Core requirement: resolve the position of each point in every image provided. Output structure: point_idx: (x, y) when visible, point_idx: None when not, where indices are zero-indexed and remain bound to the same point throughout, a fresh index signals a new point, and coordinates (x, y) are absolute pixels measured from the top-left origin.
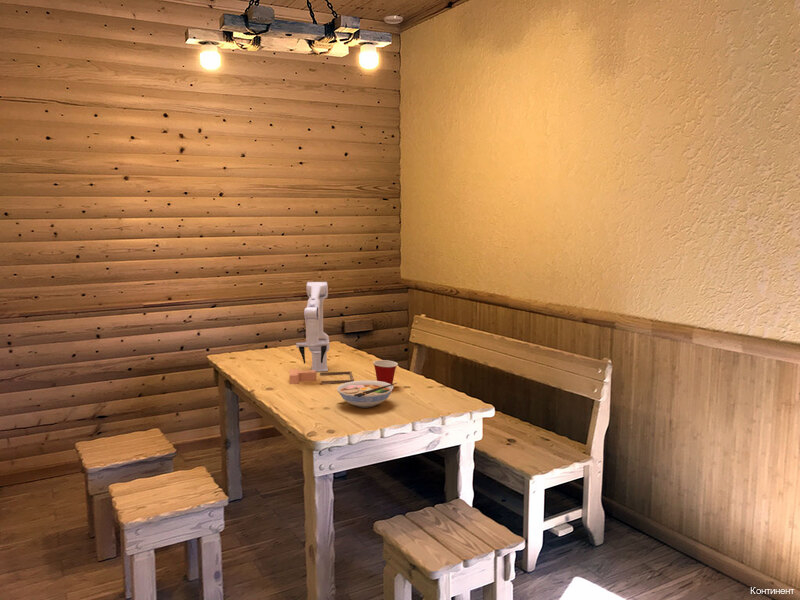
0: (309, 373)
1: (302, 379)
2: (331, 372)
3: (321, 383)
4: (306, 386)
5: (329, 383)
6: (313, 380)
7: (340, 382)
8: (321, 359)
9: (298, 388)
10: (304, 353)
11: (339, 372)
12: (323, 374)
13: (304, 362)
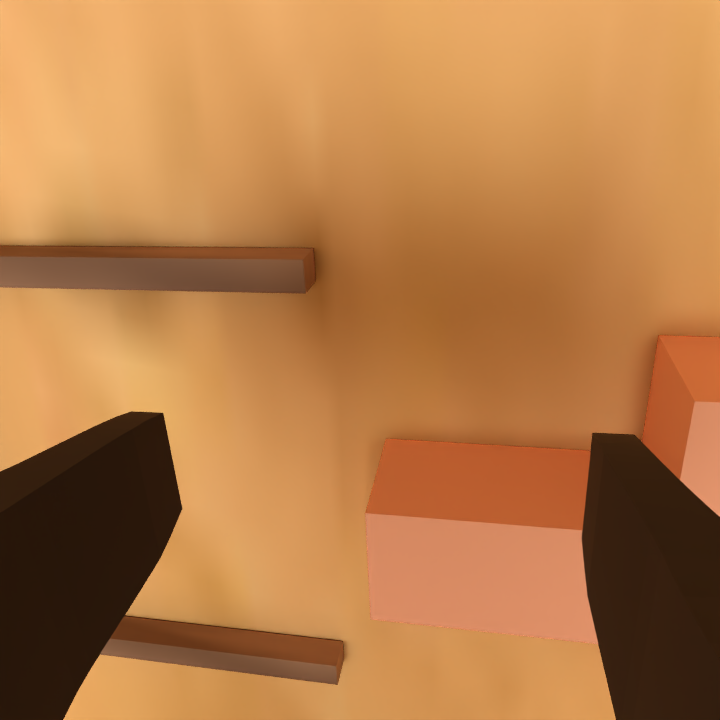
0: (474, 512)
1: (585, 465)
2: (203, 653)
3: (302, 250)
4: (545, 144)
5: (189, 247)
6: (423, 443)
7: (39, 249)
8: (91, 445)
9: (707, 16)
10: (713, 643)
11: (115, 636)
12: (300, 645)
13: (625, 442)
